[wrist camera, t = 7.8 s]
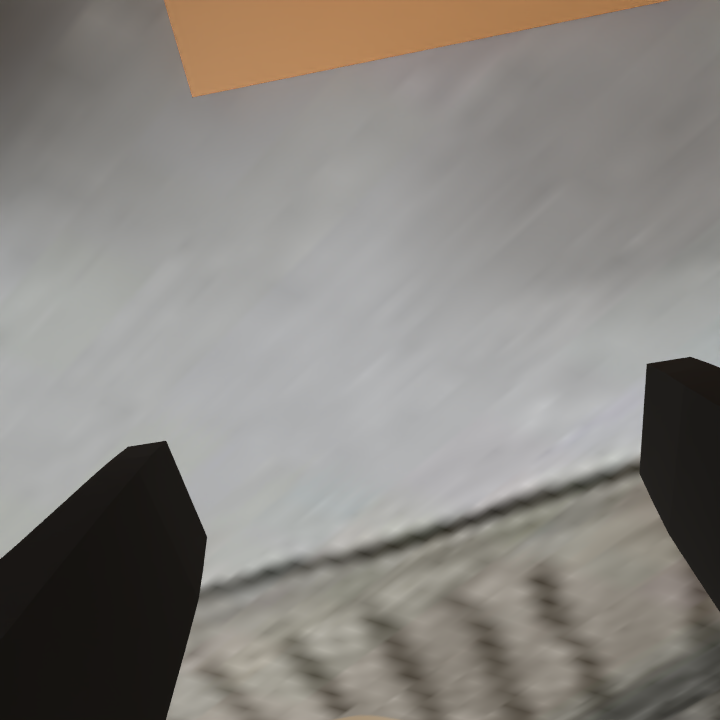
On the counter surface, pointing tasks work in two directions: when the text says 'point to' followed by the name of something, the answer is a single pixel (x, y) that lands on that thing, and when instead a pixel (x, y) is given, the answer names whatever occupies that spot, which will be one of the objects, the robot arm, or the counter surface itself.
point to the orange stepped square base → (342, 32)
